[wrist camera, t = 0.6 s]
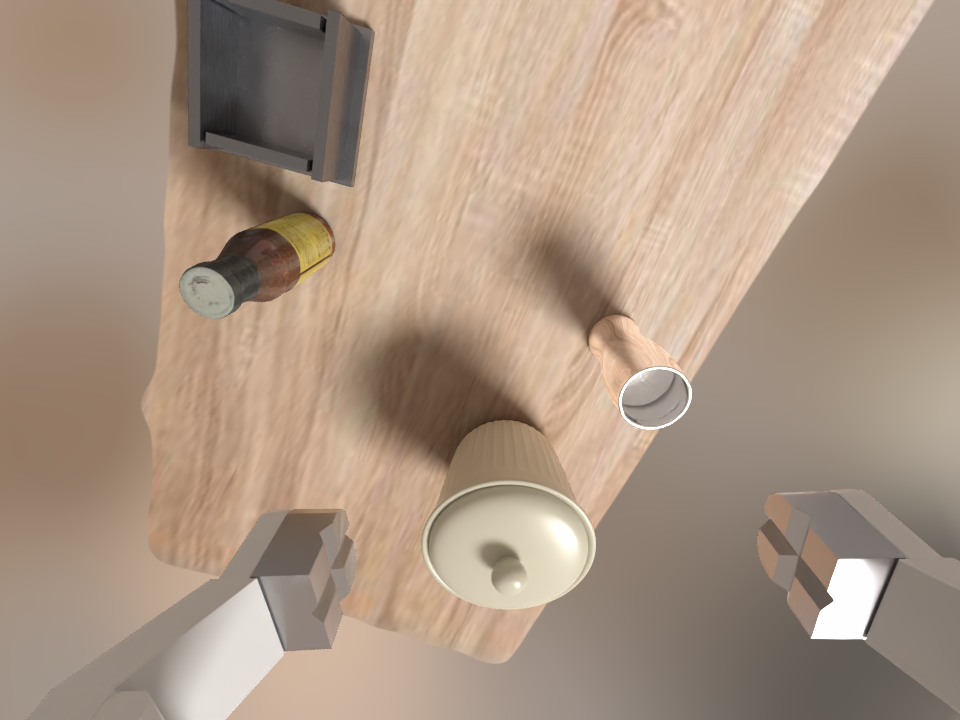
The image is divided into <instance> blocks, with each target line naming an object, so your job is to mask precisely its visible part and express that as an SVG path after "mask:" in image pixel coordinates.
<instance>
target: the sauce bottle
mask: <svg viewBox="0 0 960 720" xmlns="http://www.w3.org/2000/svg"><path fill="white" fill-rule="evenodd" d="M334 251H335V238H334V235H333V232H332V230H331V228H330V226H329V225H328V224H327V223H326V222H325V221H324V220H323V219H321V218H320V217H318V216H316V215H314V214H311V213H292V214H289V215H286V216H284V217H281V218H278V219H275V220H272V221H268V222H266V223H264V224H260V225H257V226H255V227H252V228H249V229H247V230H244V231H242V232H239V233H237V234H236V235H234V236H233V237H232V238H230V240H229V241H228V242H227V243H226V245H225V247H224V248H223V250H222V251H221V253H220V255H219V256H218V258H217V259H216V260H214V261H211V262H202V263H199V264H197V265H195V266H193V267H191V268H189V269H187V270H186V271H185V272H184V274H183V275H182V277H181V279H180V283H179V288H180V293H181V295H182V297H183V300H184V301H185V303H186V304H187V305H188V306H189V307H190V308H191V309H192V310H193V311H194V312H195V313H197V314H199V315H200V316H203V317H206V318H209V319H220V318H224V317H226V316H228V315H229V314H231V313H233V312H235V311H236V310H237V309H238V308H239V307H240V306H241V304H242V303H243V302H246V301H254V302H267V301H271V300H273V299H275V298H277V297H279V296H280V295H282V294H283V293H285V292H287V291H289V290H291V289H292V288H294V287H295V286H296V285H298V284H299V283H301V282H302V281H303V280H305V279H306V278H308V277H309V276H310V275H312V274H313V273H315V272H316V271H317V270H319V269H320V268H322V267H323V266H324V265H325V264H326V263H327V262H328V261H329V259H330V258H331V257H332V254H333V253H334Z"/></svg>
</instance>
